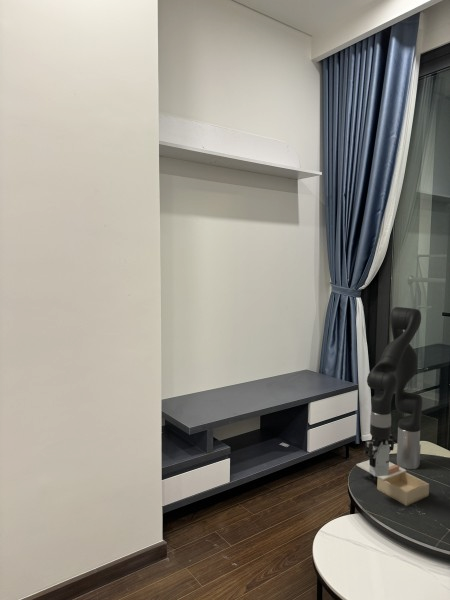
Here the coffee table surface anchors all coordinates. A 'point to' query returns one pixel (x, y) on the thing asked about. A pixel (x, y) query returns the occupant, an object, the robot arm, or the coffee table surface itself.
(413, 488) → the box
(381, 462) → the skincare box
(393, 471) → the lid
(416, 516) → the coffee table surface
